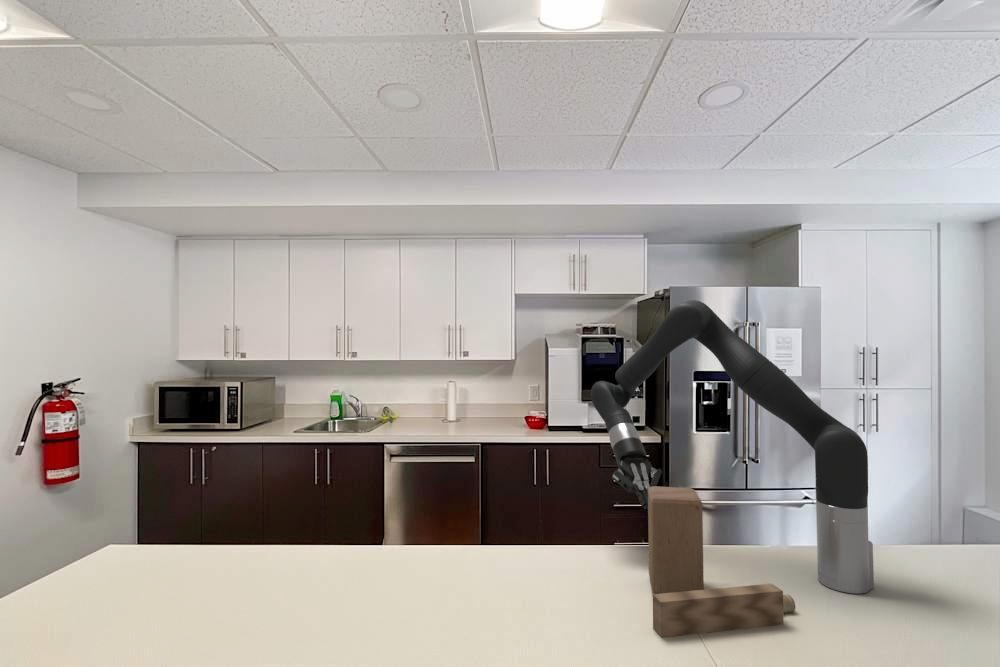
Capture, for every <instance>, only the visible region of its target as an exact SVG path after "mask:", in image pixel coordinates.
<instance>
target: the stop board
mask: <svg viewBox="0 0 1000 667" xmlns="http://www.w3.org/2000/svg"><path fill="white" fill-rule="evenodd" d="M783 595H784V590H782V589H781V588H779V587H777V586H776V585H775V584H773V583H765V584H764V583H763V584H753V585H752V584H751V585H740V586H730V587H728V586H727V587H720V588H719V587H718V588H706V589H704V590H695V591H684V592H673V593H662V594H654V593H652V629H653V630H654V631H655V632H656V634H657V635H658V636H659V637H660V638H666V637H667V638H669V637H677V636H686V635H688V636H689V635H696V634H705V633H715V632H725V631H732V630H733V631H735V630H742V629H743V630H744V629H752V628H762V627H771V626H780V625H784V623H785V622H784V620H785V619H784V618H785V617H784V613H783Z"/></svg>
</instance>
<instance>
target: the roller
mask: <svg viewBox="0 0 1000 667" xmlns="http://www.w3.org/2000/svg"><path fill="white" fill-rule="evenodd" d="M796 608H797V607H796V602H795V600H794V598H793V597H792V595H790V594H788V593H787V594H786V593H785V594H783V614H784V613H793V612H795V611H796Z"/></svg>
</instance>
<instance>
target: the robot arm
mask: <svg viewBox="0 0 1000 667" xmlns="http://www.w3.org/2000/svg"><path fill="white" fill-rule="evenodd" d="M692 339H694V340H696V341H698V343H700V344H701V345H703V346H704V347H705V348H706V349H708V350H709V351H710V352H711V353H712V354H713V355H714V356H715V357H716V359H717V361H719V363H720V365H721V366H722V368H723V369H724V371H725V373H726V374H727V375H728V377H729V378H730V379H731V381H732V382H733V383H734V384H735V385H736V386H737V388H739V389H740V390H741V391H742V392H744V393H745V395H746V396H748V397H749V398H750V399H751V400H752V401H754V402H755V403H756V404H758V406H760V407H762V408H763V409H765V410H766V411H768V412H769V413H771V414H772V415H773V416H775V417H777V418H778V419H780V420H782V421H783V422H784V423H786V424H788V425H789V427H792V429H794V431H796V432H797V433H798V434H799V435H800V437H802V438H803V439H804V440H805V441H806V442H807V443H808V444H809V446H811V448H812V449H813V450H814V465H815V466H814V468H815V469H814V470H815V472H814V473H815V508H816V509H815V510H816V511H815V513H816V544H817V546H816V547H817V549H816V550H817V551H816V552H817V554H816V555H817V557H816V558H817V580H818V582H819V583H820V584H822V585H823V586H825V587H827V588H829V589H832V590H835V591H839V592H842V593H848V594H858V595H859V594H865V593H868V592H870V590H873V589H875V581H874V580H875V579H874V578H875V577H874V574H875V573H874V545H873V542H872V541H871V540H870V539H869V515H868V514H869V513H868V512H869V511H868V510H869V509H868V507H869V506H868V495H869V461H868V460H869V458H868V456H869V455H868V449H867V446H866V444H865V442H864V440H863V439H862V438H861V436H860V435H859V434H858V433H857V432H856V431H854V430H853V429H851V428H850V427H848V426H846V425H845V424H843V423H842V422H840V420H838V419H836V418H835V417H833V416H832V415H830V414H829V413H827V412H826V411H825V410H824V409H823V408H821V407H820V406H818V405H817V404H816V403H815V402H814V401H813V400H812V399H811V398H810V397H809V396H808V395H807V394H806V393H805V392H804V391H803V389H801V388H800V387H799V386H798V385H797V383H795V382H794V381H793V380H792V378H790V377H789V376H788V375H787V374H786V373H785V372H784V371H783V370H782V369H780V368H779V367H778V366H777V365H776V364H774V362H773V361H771V360H770V359H768V358H767V357H766V356H764V355H763V354H762V353H761V352H759V351H758V350H757V349H756V348H755V347H754V346H752V345H751V344H750V343H749V342H747V341H746V340H745V339H743V338H742V337H740V336H739V335H738V334H736V333H735V332H734V331H733V330H732V329H731V328H730V327H729V326H728V325H727V324H726V323H725V322H724V321H723V320H722V319H721V318H720V317H719V316H718V315H717V314H716V313H715V311H713V310H712V308H710V306H708V305H707V304H706V303H704V302H702V301H700V300H695V299H694V300H693V299H692V300H691V299H690V300H686V301H682V302H679V303H677V304H675V305H674V306H672V307H671V309H670V310H669V311H668V313H666V315H665V317H664V318H663V320H662V321H661V322H660V324H659V326H658V327H657V328H656V330H655V331H654V332H653V333H652V335H651V336H650V337H649V338H648V339H647V340H646V341H645V342H644V344H642V346H641V347H639V348H638V349H637V350H636V351H635V352H634V353H633V354H632V355H631V356H630V357H629V358H628V359H627V360H626V361H625V362H624V363H623V364H621V366H620V367H619V368H617V370H616V372H615V374H614V375H615V376H614V377H615V380H616V382H617V383H618V384H614V383H611V382H608V381H605V380H599V381H596V382H595V383H594V384H593V385H592V387H591V389H590V398H591V402H592V405H593V407H594V408H595V411H597V413H598V415H599V416H600V417H601V419H602V420H603V422H604V424H605V428H606V429H607V430H606V431H607V433H608V436H609V442H610V446H611V448H612V452H613V454H614V457H615V460H616V464H617V465H618V466H617V469H615V470H614V472H613V474H612V476H611V479H612V480H613V481H615V482H616V484H618V485H619V486H621V487H622V488H623V489H624V490H625V491H626V492H628V493H629V494H635V495H637V498H638V501H639V504H640V505H641V507H642V508H643V509H644V510H648V489H649V487H652V486H657V484H658V482H659V481H660V478H661V475H662V472H663V470H662V469H661V468H657V469H656V468H655V467H653V466H652V463H650V461H649V460H648V456H647V453H646V450H645V448H644V446H643V442H642V441H641V440H642V439H641V437H640V434H639V433H638V430H637V429H636V427H635V424H634V422H633V419H632V417H631V414H630V412H629V411H628V410H627V409H626V408H625V407H627V405H628V404H629V402H630V401H631V399H632V397H633V396H634V394H635V392H636V390H637V389H638V388H639V386H640V385H642V384H643V383H644V382H645V381H646V380H647V379H648V378H650V376H651V375H653V373H654V372H655V371H656V370H657V369H658V368H659V366H660V365H661V363H662V362H663V361H664V360H665V358H666V357H668V355H669V354H671V353H672V352H673V351H674V350H675V349H677V348H679V346H682V345H683V344H684V343H686V342H687V341H689V340H692ZM649 475H650V477H651V481H649ZM649 482H650V483H649Z"/></svg>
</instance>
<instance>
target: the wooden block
mask: <svg viewBox="0 0 1000 667" xmlns="http://www.w3.org/2000/svg"><path fill="white" fill-rule="evenodd" d="M647 513H648V514H647V521H648V522H647V523H648V524H647V525H648V528H647V530H648V532H647V533H648V540H647V541H648V577H649V580H650V586H651V590H652V592H653V593H652V594H662V593H673V592H684V591H695V590H705V589H704V588H705V583H704V581H705V580H704V578H705V577H704V530H703V529H704V528H703V527H704V526H703V525H704V523H703V520H704V519H703V518H704V517H703V516H704V515H703V502H702V500H701V498H700V497H699V495H698V494H697V492H696V490H695V488H694V489H693V488H691V487H675V486H674V487H673V486H657V485H656V486H652V487H649V489H648V509H647Z"/></svg>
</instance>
